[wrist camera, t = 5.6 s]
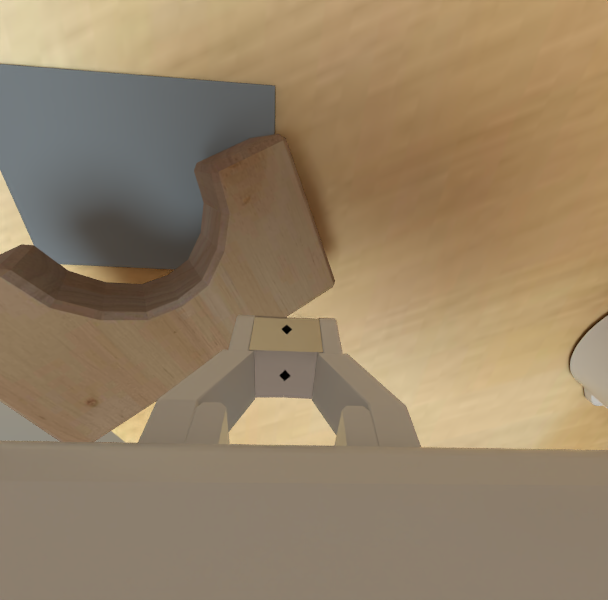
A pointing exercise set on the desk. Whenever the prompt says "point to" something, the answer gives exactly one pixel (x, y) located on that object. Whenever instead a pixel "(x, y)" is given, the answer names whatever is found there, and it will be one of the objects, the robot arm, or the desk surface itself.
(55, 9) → the desk surface
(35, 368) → the decorative block
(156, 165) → the felt mat
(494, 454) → the robot arm
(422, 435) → the desk surface
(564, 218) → the desk surface
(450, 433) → the desk surface
